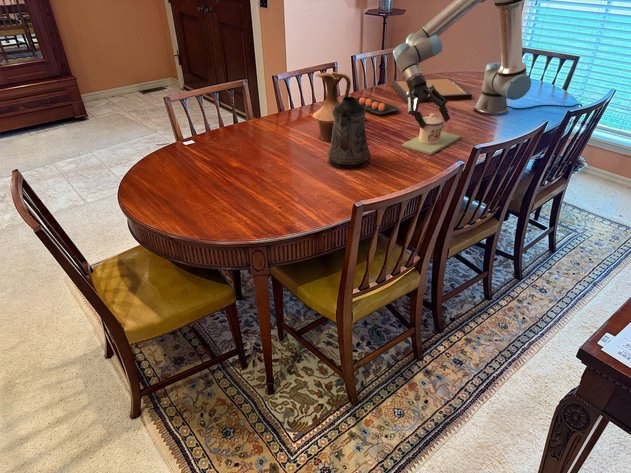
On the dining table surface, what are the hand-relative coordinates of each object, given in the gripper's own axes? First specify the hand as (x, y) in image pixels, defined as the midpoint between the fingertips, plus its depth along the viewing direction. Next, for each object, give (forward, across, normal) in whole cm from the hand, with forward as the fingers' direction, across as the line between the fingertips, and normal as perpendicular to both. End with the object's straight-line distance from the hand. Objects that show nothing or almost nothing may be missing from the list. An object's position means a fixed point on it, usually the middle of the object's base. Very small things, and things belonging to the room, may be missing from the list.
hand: (436, 123), depth 180 cm
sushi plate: (-32, 0, -44) cm, 54 cm away
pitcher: (-16, +32, -27) cm, 45 cm away
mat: (+5, 0, -7) cm, 8 cm away
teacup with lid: (+5, 0, -6) cm, 8 cm away
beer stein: (+3, +41, -9) cm, 42 cm away
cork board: (-34, -52, -47) cm, 78 cm away
